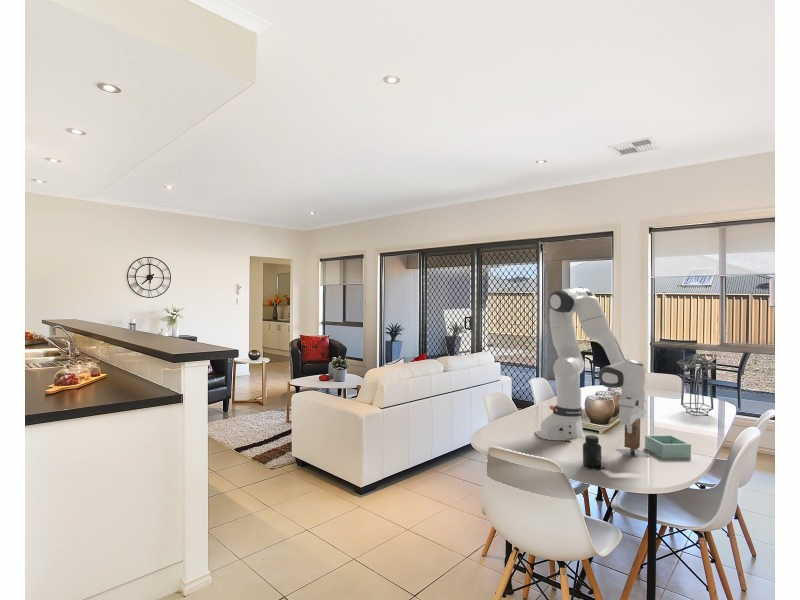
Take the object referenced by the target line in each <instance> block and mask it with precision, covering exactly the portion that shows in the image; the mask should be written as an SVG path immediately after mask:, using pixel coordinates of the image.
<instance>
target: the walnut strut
mask: <svg viewBox="0 0 800 600" xmlns="http://www.w3.org/2000/svg"><path fill="white" fill-rule="evenodd" d="M632 429H633V432H632V433H628V432H627V427H626V425H624V443H623V444H624V448H626V449H630V448H631V449H638V450H639V448H640V447H641V419H637V420H636V421H635V422H634V423H633V425H632Z"/></svg>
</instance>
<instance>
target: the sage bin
mask: <svg viewBox="0 0 800 600" xmlns="http://www.w3.org/2000/svg"><path fill="white" fill-rule="evenodd" d="M644 449H646V450H648V451H649V452H651V453H652V454H654V455H656V456H658V457H660V458H661V459H690V460H691V458H692V444H691V443H689V442H687V441H685V440H682V439H680V438H678V437H677V436H674V435H671V434H669V435H668V434H666V435H665V434H664V435H662V434H661V435H657V434H656V435H655V434H654V435H653V434H652V435H644Z"/></svg>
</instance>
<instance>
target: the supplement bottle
mask: <svg viewBox="0 0 800 600" xmlns="http://www.w3.org/2000/svg"><path fill="white" fill-rule="evenodd" d="M602 458H603V457H602V445H601V444H600V443H599V437H598V436H597V435H593V434H588V435H584V443H583V444H582V465H583V468H585V467H586V468H585V469H587V468H589V469H588V470H590V469H599V470H601V469H602V465H603V464H602Z"/></svg>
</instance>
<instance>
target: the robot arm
mask: <svg viewBox="0 0 800 600" xmlns="http://www.w3.org/2000/svg"><path fill="white" fill-rule="evenodd" d="M548 304H549V307H550V309H549V327H550V332H551V338H552V339H551V340H552V344H553V346H554V349H555V350H556V353H557V356H558V358H557V359H556V360H555V362H554V364H553V368H552V369H553V370H552V371H553V373H554V379H555V380H554V381H555V384H556V404H555V406H554V405H549V406H548V407H549V409H550V410H552V413H550V414H549V415H548V416H546V417H545V418H543V419H542V420H541V422H540V426H539V428H538V429H535V431H534V432H535V434H536V436H538V437H539V438H541V439H543V440H546V439H547V441H561V440H562V441H563V442H565V440H566V442H570V440H569V439H585V434H584V429H583V422H582V418H583V408H582V389H581V387H580V386H581V385H580V374H582V373H583V372H584V369H585V362H584V361H585V360H584V358H583V355H582V353H581V352H582V351H581V349H580V346H579V343H578V339H577V333H576V328H575V323H574V322H575V321H574V318H573V317H574V314H576V315H577V317H578V321H579V323H580V327H581V329H582V331H583V334H584V335H585V336H586V337H587V338H589V339H590V340H592V341H594V342H597V343H598V344H599V345H600V346H601V347H602V348H603V350H604V352H605V354H606V356H607V359H608V360H609V363H610V365H605V366H603V367H602V368H600V370H599V371H598V374H597V375H598V380H599V382H600V384H601V385H602V386H603V387H605V388H608V389H614V388H619V389H621V394H620V397H619V399H618V401H617V405H619V411H618V413H619V415H618V416H619V422H620V424H621V425H624V426H625V425H626V427H627V432H628V433H632V432H633V429H632V425H633V423H634V422H635V421H636V420H637V419H640V420H641V419H643V418H644V416H645V404H646V390H645V384H646V368H645V365H644V363H642V362H640V361H639V360H635V359H628V358H625V357H624V354H623V352H622V350H621V346H620V345H619V342H618V341H617V339H616V337H615V335H614V333H613V331H612V329H611V327H610V325H609V322H608V320H607V316H606V314H605V311H604V309H603V307H602V305H601V302H600V301H599V300H598V298H597V297H596V296H593V293H592V291H591V290H590V289H588V288H585V287H580V286H579V287H568V288H564V289H557V290H555V291H553V292H551V294H550V296H549V298H548ZM562 441H561V442H562Z"/></svg>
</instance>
